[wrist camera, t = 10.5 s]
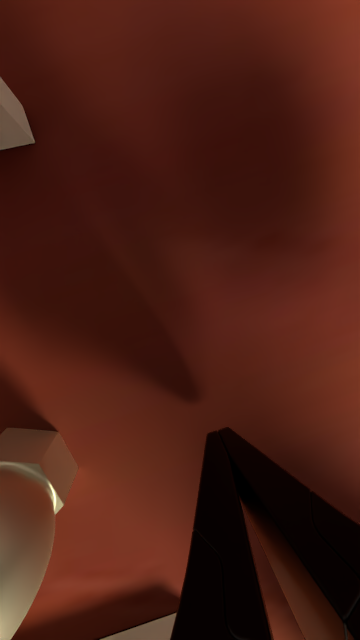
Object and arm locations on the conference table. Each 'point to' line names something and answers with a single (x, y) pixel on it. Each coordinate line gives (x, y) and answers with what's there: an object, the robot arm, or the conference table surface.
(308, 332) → the conference table surface
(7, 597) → the valve
